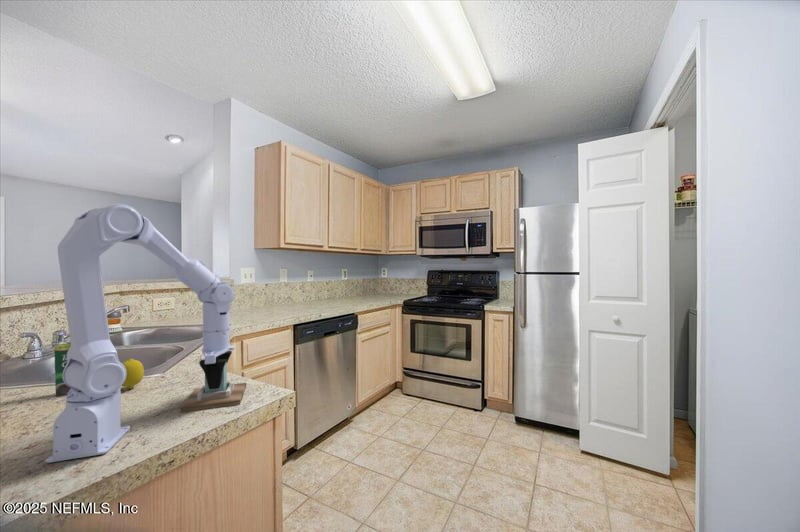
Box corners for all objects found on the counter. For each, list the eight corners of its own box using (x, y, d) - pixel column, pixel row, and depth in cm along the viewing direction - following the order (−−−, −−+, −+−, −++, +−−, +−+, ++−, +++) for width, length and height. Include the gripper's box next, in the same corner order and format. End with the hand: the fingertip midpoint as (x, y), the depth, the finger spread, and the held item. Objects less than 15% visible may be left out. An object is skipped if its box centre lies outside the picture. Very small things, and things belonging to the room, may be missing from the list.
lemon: (149, 385, 87) (149, 356, 87) (130, 393, 81) (130, 362, 81) (130, 384, 87) (130, 355, 87) (110, 392, 82) (110, 361, 82)
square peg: (223, 395, 77) (223, 366, 77) (204, 397, 75) (204, 368, 75) (226, 389, 80) (226, 362, 80) (208, 391, 79) (208, 363, 79)
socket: (240, 404, 74) (240, 393, 74) (180, 412, 70) (180, 401, 70) (246, 386, 86) (246, 377, 86) (195, 392, 82) (195, 382, 82)
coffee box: (52, 397, 79) (53, 344, 79) (57, 393, 81) (58, 342, 81) (96, 390, 83) (96, 340, 83) (99, 387, 85) (100, 338, 85)
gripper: (229, 334, 73) (229, 393, 72) (238, 324, 86) (238, 373, 86) (194, 336, 70) (194, 398, 70) (209, 325, 84) (209, 376, 84)
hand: (216, 385), depth 78 cm, fingers closed on square peg, 4 cm apart
